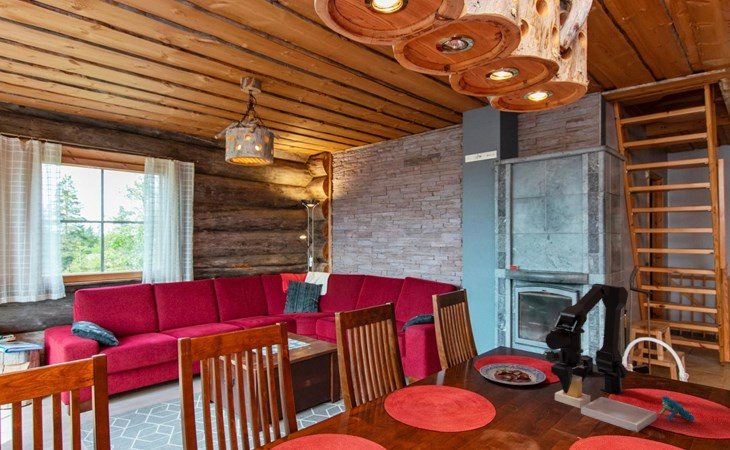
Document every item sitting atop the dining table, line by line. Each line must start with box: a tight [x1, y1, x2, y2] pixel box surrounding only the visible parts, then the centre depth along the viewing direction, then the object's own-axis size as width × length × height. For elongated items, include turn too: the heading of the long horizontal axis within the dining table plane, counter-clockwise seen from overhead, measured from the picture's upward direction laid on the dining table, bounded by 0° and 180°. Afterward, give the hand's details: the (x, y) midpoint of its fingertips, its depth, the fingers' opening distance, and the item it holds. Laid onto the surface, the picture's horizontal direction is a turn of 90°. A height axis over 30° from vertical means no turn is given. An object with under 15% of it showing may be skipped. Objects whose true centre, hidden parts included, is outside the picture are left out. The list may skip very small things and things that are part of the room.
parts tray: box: [580, 396, 658, 433], centre depth 144 cm, size 15×17×2 cm
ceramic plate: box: [479, 362, 547, 386], centre depth 182 cm, size 26×26×3 cm
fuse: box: [563, 375, 583, 398], centre depth 157 cm, size 4×5×9 cm
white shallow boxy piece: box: [554, 389, 591, 409], centre depth 157 cm, size 8×9×2 cm
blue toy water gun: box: [659, 395, 696, 423], centre depth 142 cm, size 11×6×10 cm
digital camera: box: [563, 354, 594, 375], centre depth 188 cm, size 10×5×7 cm, turn 94°
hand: (572, 390), depth 157 cm, fingers open, 9 cm apart
